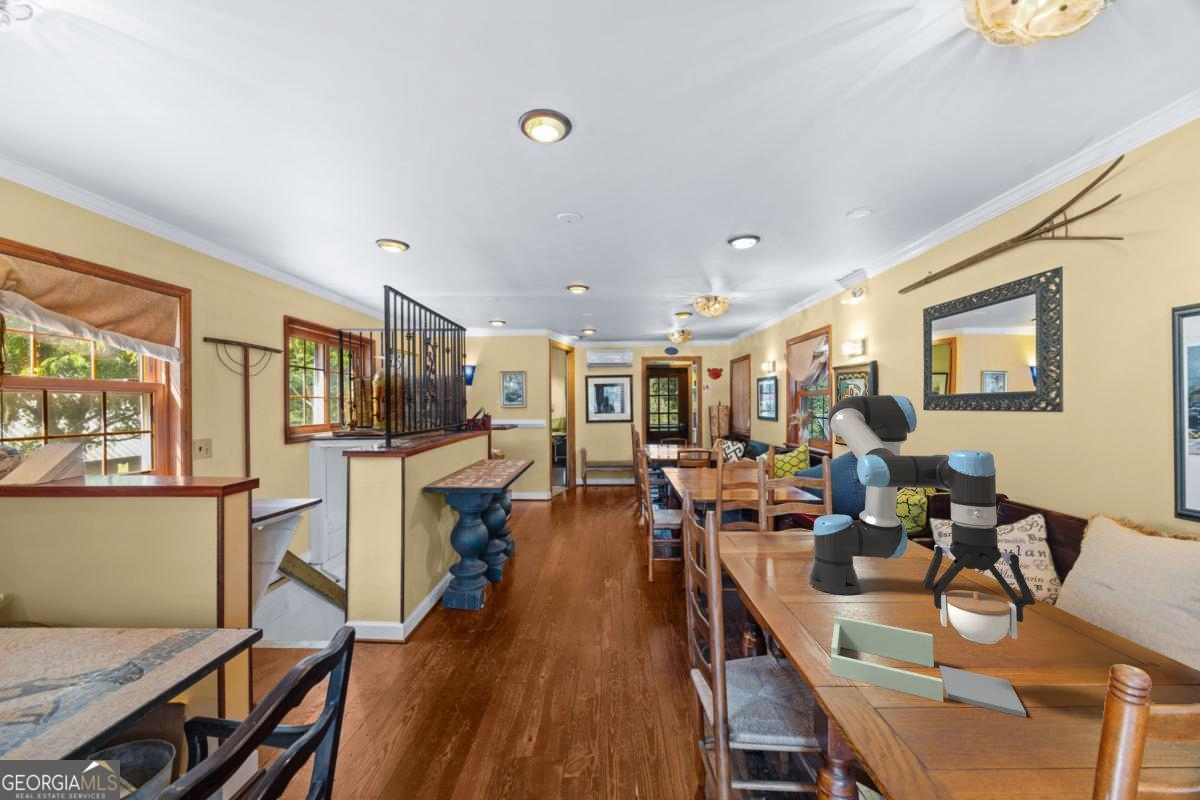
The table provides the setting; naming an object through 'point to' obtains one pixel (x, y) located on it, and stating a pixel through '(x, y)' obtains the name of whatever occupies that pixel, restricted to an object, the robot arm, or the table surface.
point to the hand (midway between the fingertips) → (977, 630)
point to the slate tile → (981, 691)
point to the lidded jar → (978, 615)
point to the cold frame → (888, 645)
